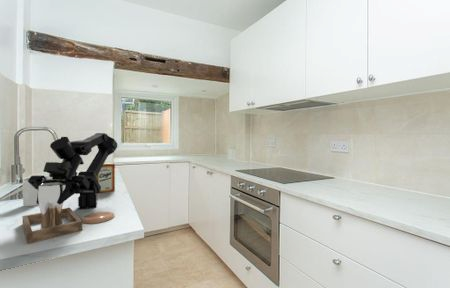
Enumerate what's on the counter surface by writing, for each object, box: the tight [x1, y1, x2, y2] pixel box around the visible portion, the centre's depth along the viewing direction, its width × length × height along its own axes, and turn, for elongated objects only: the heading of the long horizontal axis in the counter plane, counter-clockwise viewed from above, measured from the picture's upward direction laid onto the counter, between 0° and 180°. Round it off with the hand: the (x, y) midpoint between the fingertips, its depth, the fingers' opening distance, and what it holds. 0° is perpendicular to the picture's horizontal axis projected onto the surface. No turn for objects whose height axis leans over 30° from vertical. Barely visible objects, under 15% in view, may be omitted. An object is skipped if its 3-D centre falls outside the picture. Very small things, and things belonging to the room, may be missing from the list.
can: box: [22, 177, 39, 208], centre depth 102 cm, size 6×6×12 cm
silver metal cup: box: [38, 182, 64, 230], centre depth 77 cm, size 7×7×15 cm
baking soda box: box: [97, 162, 116, 195], centre depth 128 cm, size 10×6×16 cm
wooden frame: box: [22, 207, 83, 245], centre depth 78 cm, size 14×20×3 cm
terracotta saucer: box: [81, 211, 115, 225], centre depth 87 cm, size 11×11×1 cm
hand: (48, 203), depth 76 cm, fingers closed on silver metal cup, 7 cm apart
